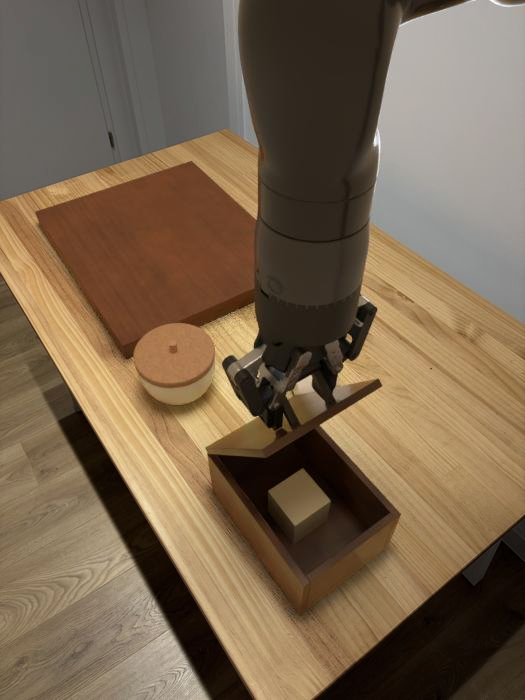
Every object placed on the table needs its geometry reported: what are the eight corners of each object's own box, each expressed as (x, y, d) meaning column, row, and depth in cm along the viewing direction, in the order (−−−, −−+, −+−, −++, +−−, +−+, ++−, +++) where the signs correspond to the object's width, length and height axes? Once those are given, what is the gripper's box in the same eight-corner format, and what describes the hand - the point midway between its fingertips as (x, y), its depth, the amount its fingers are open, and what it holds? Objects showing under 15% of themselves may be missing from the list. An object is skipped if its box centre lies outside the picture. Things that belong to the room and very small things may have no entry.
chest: (387, 548, 63) (401, 514, 56) (299, 615, 58) (303, 587, 52) (294, 440, 73) (296, 400, 66) (212, 490, 68) (206, 453, 61)
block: (301, 488, 67) (303, 467, 63) (327, 520, 64) (331, 500, 61) (267, 510, 65) (267, 490, 61) (293, 544, 62) (294, 526, 59)
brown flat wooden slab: (193, 173, 116) (39, 225, 104) (191, 160, 114) (34, 211, 102) (305, 279, 94) (126, 359, 82) (306, 265, 92) (122, 345, 80)
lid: (383, 386, 49) (355, 331, 49) (266, 458, 44) (235, 398, 44) (298, 401, 66) (277, 360, 66) (207, 454, 61) (185, 410, 61)
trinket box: (207, 351, 83) (202, 306, 76) (227, 406, 76) (223, 362, 69) (136, 369, 81) (124, 324, 74) (150, 427, 74) (138, 384, 67)
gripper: (352, 203, 42) (331, 348, 55) (190, 274, 37) (208, 417, 50) (423, 254, 38) (383, 398, 51) (253, 342, 33) (255, 479, 46)
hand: (297, 407), depth 50 cm, fingers closed on lid, 5 cm apart
